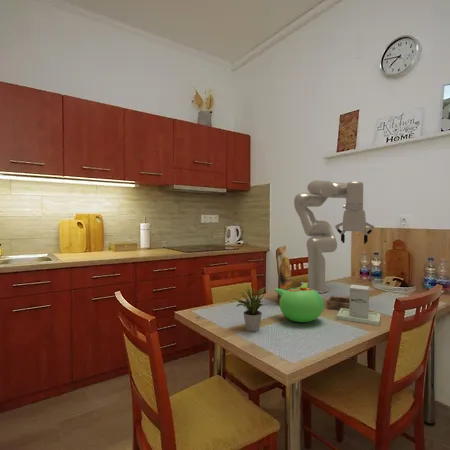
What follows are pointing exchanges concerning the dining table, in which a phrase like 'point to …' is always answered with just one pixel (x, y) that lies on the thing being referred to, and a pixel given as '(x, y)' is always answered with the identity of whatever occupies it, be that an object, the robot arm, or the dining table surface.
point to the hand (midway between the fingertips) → (354, 243)
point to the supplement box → (359, 301)
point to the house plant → (252, 309)
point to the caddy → (338, 303)
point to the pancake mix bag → (283, 270)
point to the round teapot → (300, 303)
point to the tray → (372, 318)
